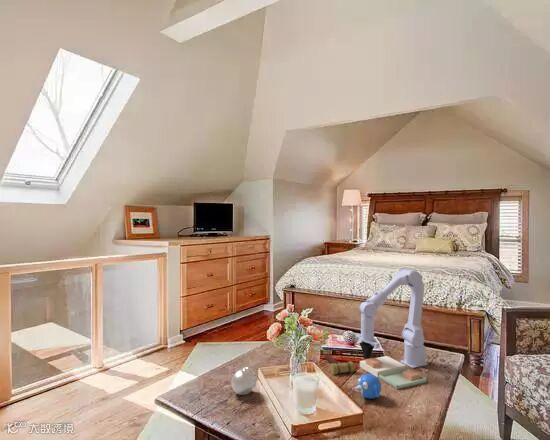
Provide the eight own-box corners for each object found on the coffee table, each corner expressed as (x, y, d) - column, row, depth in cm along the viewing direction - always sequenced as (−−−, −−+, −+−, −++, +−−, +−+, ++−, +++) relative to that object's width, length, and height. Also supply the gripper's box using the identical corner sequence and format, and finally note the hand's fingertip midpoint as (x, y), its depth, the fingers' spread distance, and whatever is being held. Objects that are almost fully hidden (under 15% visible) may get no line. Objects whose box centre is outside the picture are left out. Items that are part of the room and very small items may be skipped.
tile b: (374, 362, 161) (374, 357, 161) (382, 366, 157) (382, 361, 157) (365, 363, 159) (365, 359, 159) (373, 368, 155) (373, 363, 155)
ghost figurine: (250, 401, 130) (250, 374, 130) (227, 396, 133) (227, 370, 133) (259, 390, 138) (259, 364, 138) (237, 386, 142) (238, 361, 142)
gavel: (314, 351, 172) (333, 349, 175) (315, 361, 172) (333, 358, 175) (333, 365, 152) (354, 363, 155) (334, 376, 152) (354, 374, 155)
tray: (406, 371, 158) (406, 367, 158) (427, 382, 147) (427, 378, 147) (377, 377, 151) (378, 374, 151) (397, 389, 141) (397, 385, 141)
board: (386, 361, 169) (387, 355, 169) (405, 371, 158) (406, 365, 158) (359, 366, 162) (359, 361, 162) (377, 377, 151) (377, 371, 151)
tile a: (420, 374, 149) (420, 379, 149) (410, 369, 154) (410, 374, 154) (411, 376, 147) (411, 381, 147) (402, 371, 151) (402, 376, 151)
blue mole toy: (343, 393, 137) (343, 371, 137) (368, 388, 142) (368, 366, 142) (362, 409, 126) (362, 385, 126) (389, 402, 131) (389, 379, 131)
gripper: (350, 325, 167) (350, 354, 167) (370, 334, 154) (370, 366, 154) (362, 323, 170) (362, 352, 170) (383, 332, 157) (383, 363, 157)
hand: (367, 358), depth 162 cm, fingers closed
